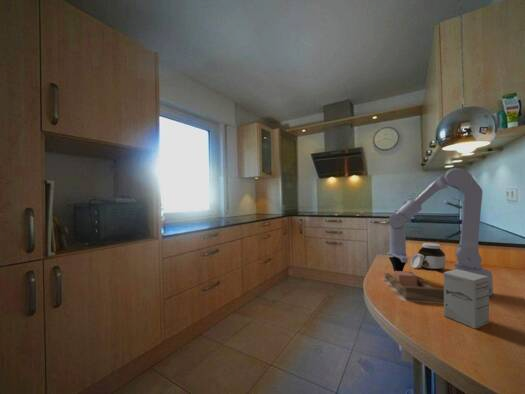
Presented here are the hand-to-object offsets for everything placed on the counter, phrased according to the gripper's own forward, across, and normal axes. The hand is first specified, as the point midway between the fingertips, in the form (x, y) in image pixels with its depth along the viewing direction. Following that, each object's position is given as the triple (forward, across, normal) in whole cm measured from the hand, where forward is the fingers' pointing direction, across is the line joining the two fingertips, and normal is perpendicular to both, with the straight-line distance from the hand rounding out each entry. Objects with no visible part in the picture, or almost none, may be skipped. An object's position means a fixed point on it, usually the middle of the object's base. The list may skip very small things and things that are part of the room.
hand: (398, 275), depth 95 cm
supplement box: (+2, +32, +6) cm, 32 cm away
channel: (+1, +11, 0) cm, 11 cm away
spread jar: (+2, -17, +18) cm, 25 cm away
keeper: (+1, +7, 0) cm, 7 cm away
